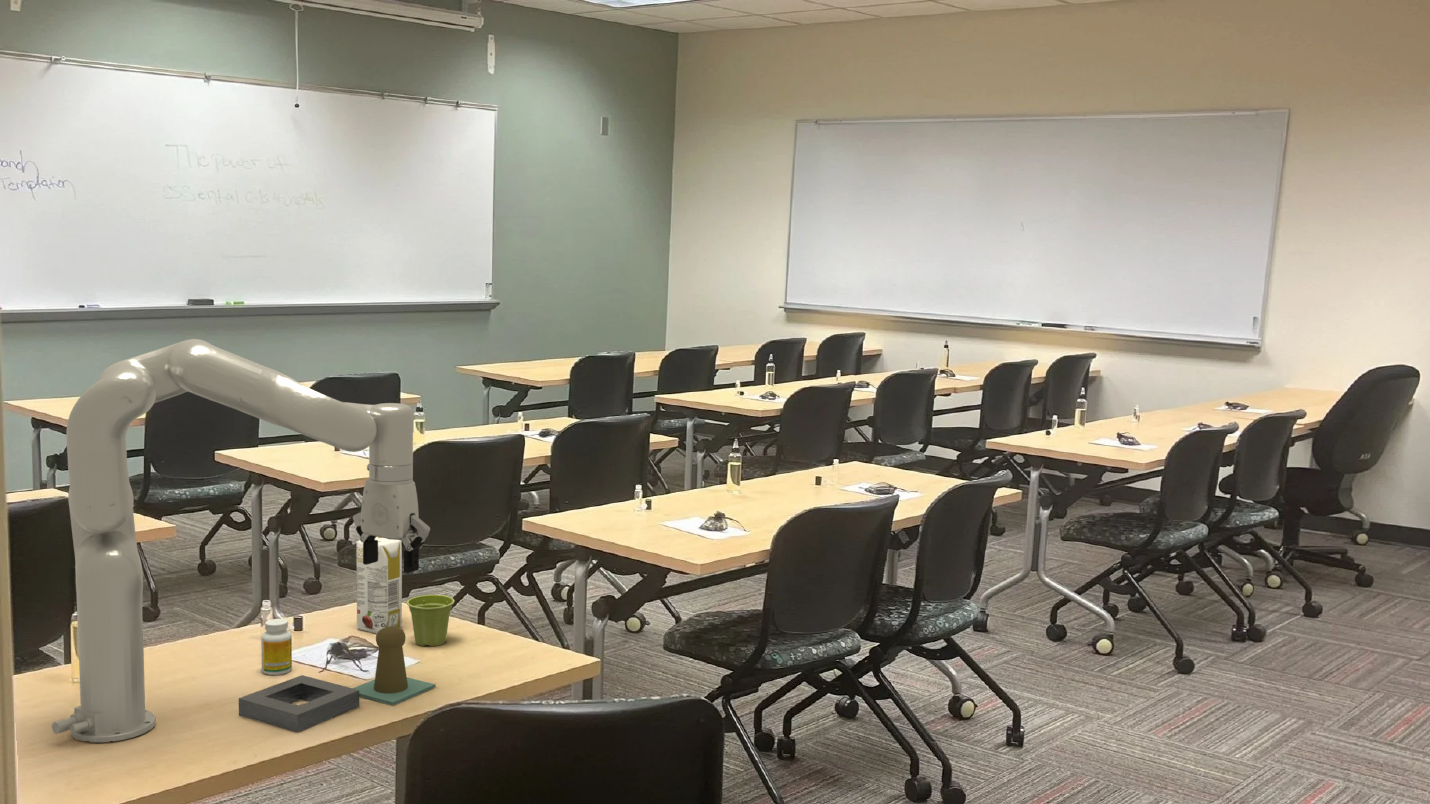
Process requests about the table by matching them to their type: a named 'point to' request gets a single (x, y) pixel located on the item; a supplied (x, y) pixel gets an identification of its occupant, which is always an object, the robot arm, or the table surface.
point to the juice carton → (380, 587)
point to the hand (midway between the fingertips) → (390, 567)
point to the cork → (390, 661)
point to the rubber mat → (394, 698)
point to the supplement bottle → (276, 648)
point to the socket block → (280, 712)
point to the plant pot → (430, 618)
